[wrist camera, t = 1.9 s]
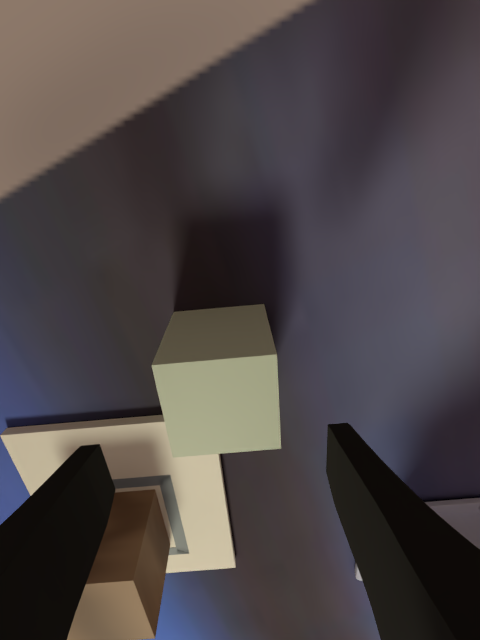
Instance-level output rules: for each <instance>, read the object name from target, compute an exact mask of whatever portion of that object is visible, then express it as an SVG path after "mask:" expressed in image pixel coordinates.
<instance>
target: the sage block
mask: <svg viewBox="0 0 480 640" xmlns="http://www.w3.org/2000/svg"><path fill="white" fill-rule="evenodd" d="M152 369H153V374H154V378H155V382H156V387H157V391H158V395H159V400H160V404H161V408H162V413H163V417H164V421H165V426H166V430H167V434H168V439H169V443H170V447H171V452H172V456H173V458H174V457H186V456H198V455H210V454H222V453H234V452H245V451H257V450H269V449H281V436H280V413H279V391H278V368H277V353H276V349H275V345H274V341H273V337H272V333H271V329H270V326H269V322H268V318H267V314H266V310H265V306H264V304H258V305H246V306H235V307H224V308H212V309H201V310H190V311H178V312H173V315H172V317H171V320H170V322H169V324H168V327H167V329H166V332H165V334H164V336H163V339H162V341H161V344H160V346H159V349H158V351H157V353H156V356H155V358H154V361H153V363H152Z"/></svg>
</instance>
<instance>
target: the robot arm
mask: <svg viewBox="0 0 480 640" xmlns="http://www.w3.org/2000/svg"><path fill="white" fill-rule="evenodd" d="M326 472H327V476H328V480H329V484H330V488H331V492H332V496H333V500H334V504H335V507H336V510H337V513H338V515H339V518H340V521H341V524H342V526H343V529H344V532H345V534H346V537H347V540H348V543H349V545H350V548H351V551H352V553H353V556H354V559H355V562H356V565H355V576H356V579H357V580H359V581H363V583H364V586H365V589H366V592H367V595H368V598H369V601H370V604H371V607H372V610H373V613H374V617H375V620H376V624H377V628H378V631H379V635H380V638H381V640H480V498H469V499H457V500H444V501H432V502H424V501H423V500H422V499H421V498H419V497H418V496H417V495H416V494H415V493H414V492H413V491H412V490H411V489H410V488H409V487H408V486H407V485H406V484H405V483H404V482H403V481H402V480H401V479H400V478H399V477H398V476H397V475H396V474H395V473H394V472H393V471H392V470H391V469H390V468H389V467H388V466H387V465H386V464H385V463H384V462H383V461H382V460H381V459H380V458H379V457H378V456H377V454H376V453H375V452H374V451H373V450H372V449H371V448H370V447H369V446H368V445H367V444H366V442H365V441H364V440H363V439H362V438H361V437H360V436H359V435H358V433H357V432H356V431H355V430H354V429H353V428H352V427H351V425H349V424H348V423H340V424H328V437H327V466H326ZM115 490H116V489H115V486H114V483H113V480H112V477H111V475H110V472H109V469H108V466H107V463H106V460H105V457H104V455H103V452H102V449H101V446H100V444H94V445H83V446H80V447H79V448H78V449H77V450H76V451H75V452H74V453H73V454H72V455H71V456H70V457H69V458H68V459H67V460H66V461H65V462H64V463H63V464H62V465H61V466H60V467H59V468H58V469H57V470H56V471H55V472H54V473H53V474H52V475H51V476H50V477H49V478H48V479H47V480H46V481H45V482H44V483H43V484H42V485H41V486H40V487H39V488H38V489H37V490H36V491H35V492H34V493H33V494H32V495H31V496H30V497H29V498H28V499H27V500H26V501H25V502H24V503H23V504H22V505H21V506H20V507H19V508H18V509H17V510H16V511H15V512H14V513H13V514H12V515H11V516H10V517H8V518H7V519H6V520H5V521H4V522H3V523H2V524H1V525H0V640H67V638H68V634H69V631H70V628H71V625H72V622H73V619H74V616H75V613H76V610H77V607H78V604H79V601H80V599H81V596H82V593H83V590H84V588H85V585H86V582H87V579H88V577H89V574H90V571H91V569H92V566H93V563H94V560H95V558H96V555H97V552H98V549H99V546H100V544H101V541H102V538H103V535H104V532H105V529H106V527H107V523H108V519H109V516H110V512H111V508H112V503H113V499H114V494H115Z"/></svg>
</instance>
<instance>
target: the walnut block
mask: <svg viewBox="0 0 480 640" xmlns="http://www.w3.org/2000/svg"><path fill="white" fill-rule="evenodd" d="M169 550H170V541H169V538H168V534H167V530H166V527H165V523H164V520H163V516H162V512H161V509H160V505H159V501H158V498H157V494H156V490H155V489H153V490H141V491H128V492H116V493H115V494H114V499H113V503H112V508H111V512H110V516H109V519H108V523H107V527H106V529H105V532H104V535H103V538H102V541H101V544H100V546H99V549H98V552H97V555H96V558H95V560H94V563H93V566H92V569H91V571H90V574H89V577H88V579H87V582H86V585H85V588H84V590H83V593H82V596H81V599H80V601H79V604H78V607H77V610H76V613H75V616H74V619H73V622H72V625H71V628H70V631H69V634H68V638H67V640H138V639H151V638H155V635H156V629H157V623H158V617H159V611H160V604H161V598H162V592H163V586H164V580H165V574H166V568H167V562H168V556H169Z"/></svg>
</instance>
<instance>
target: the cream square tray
mask: <svg viewBox="0 0 480 640" xmlns="http://www.w3.org/2000/svg"><path fill="white" fill-rule="evenodd" d="M0 436H1V438H2V440H3V442H4V444H5V446H6V448H7V450H8V452H9V454H10V456H11V458H12V460H13V462H14V464H15V466H16V468H17V470H18V472H19V474H20V476H21V478H22V480H23V482H24V484H25V485H26V487H27V489H28V491H29V493H30V495H32V494H33V493H34V492H35V491H36V490H37V489H38V488H39V487H40V486H41V485H42V484H43V483H44V482H45V481H46V480H47V479H48V478H49V477H50V476H51V475H52V474H53V473H54V472H55V471H56V470H57V469H58V468H59V467H60V466H61V465H62V464H63V463H64V462H65V461H66V460H67V459H68V458H69V457H70V456H71V455H72V454H73V453H74V452H75V451H76V450H77V449H78V448H79V447H80V446H83V445H94V444H100V446H101V449H102V452H103V455H104V457H105V460H106V463H107V466H108V469H109V472H110V475H111V477H112V480H113V483H114V486H115V489H116V490H115V493H116V492H128V491H141V490H153V489H155V490H156V494H157V498H158V501H159V505H160V509H161V512H162V516H163V520H164V523H165V527H166V530H167V534H168V538H169V541H170V550H169V556H168V562H167V568H166V573H173V572H186V571H198V570H211V569H224V568H236V559H235V552H234V545H233V539H232V532H231V525H230V518H229V512H228V505H227V498H226V491H225V485H224V478H223V471H222V464H221V458H220V454H210V455H198V456H186V457H174V458H173V456H172V452H171V447H170V443H169V439H168V434H167V430H166V426H165V421H164V417H163V415H153V416H141V417H130V418H118V419H106V420H94V421H82V422H70V423H59V424H47V425H35V426H23V427H11V428H6V429H5V431H4V432H3V433H2V434H1V435H0Z"/></svg>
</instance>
